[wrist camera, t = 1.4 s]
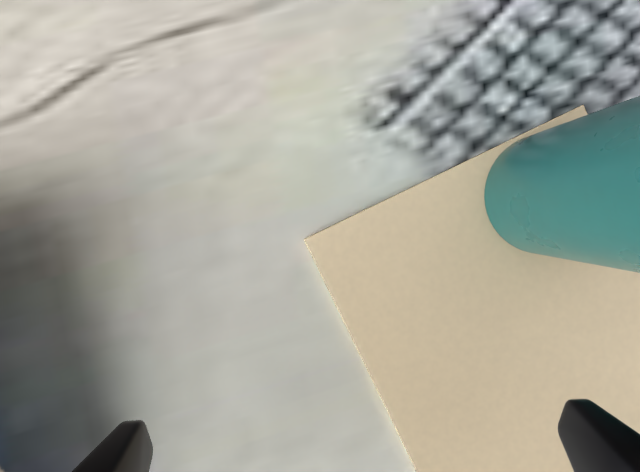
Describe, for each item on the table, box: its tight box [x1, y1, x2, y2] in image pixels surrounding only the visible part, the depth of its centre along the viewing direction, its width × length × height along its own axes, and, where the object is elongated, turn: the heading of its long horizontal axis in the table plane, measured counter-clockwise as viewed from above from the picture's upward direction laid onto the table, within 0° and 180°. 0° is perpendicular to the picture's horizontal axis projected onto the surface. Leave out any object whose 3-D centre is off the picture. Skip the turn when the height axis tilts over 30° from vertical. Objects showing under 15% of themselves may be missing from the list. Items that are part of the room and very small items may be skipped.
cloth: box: [304, 105, 640, 472], centre depth 23 cm, size 21×17×1 cm
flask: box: [484, 96, 640, 273], centre depth 16 cm, size 7×7×12 cm
